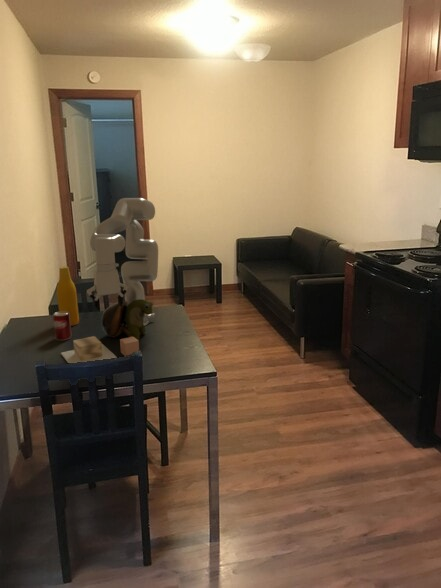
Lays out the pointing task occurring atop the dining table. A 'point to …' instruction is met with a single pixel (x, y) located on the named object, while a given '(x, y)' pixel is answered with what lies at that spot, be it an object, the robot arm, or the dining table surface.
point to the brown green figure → (126, 318)
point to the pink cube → (129, 345)
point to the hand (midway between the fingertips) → (109, 307)
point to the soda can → (62, 325)
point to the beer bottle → (67, 295)
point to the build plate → (72, 358)
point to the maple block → (87, 348)
